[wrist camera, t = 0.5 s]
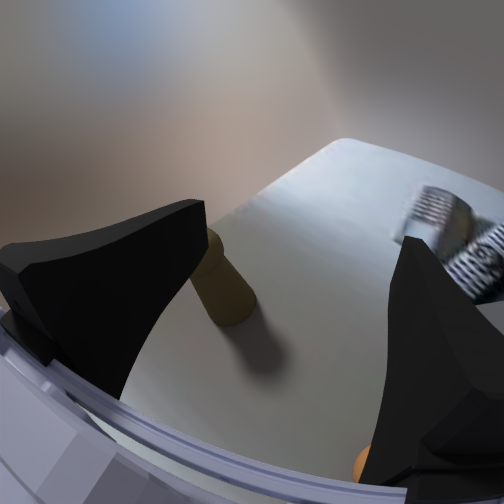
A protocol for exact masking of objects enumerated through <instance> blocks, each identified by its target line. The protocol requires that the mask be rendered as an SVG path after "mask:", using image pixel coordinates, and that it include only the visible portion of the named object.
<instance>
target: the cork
mask: <svg viewBox="0 0 504 504" xmlns="http://www.w3.org/2000/svg"><path fill="white" fill-rule="evenodd" d="M207 234H208V243H209V248H208V249H207V251H206V253H205V255H204V257H203V259H202V260H201V262H200V264H199V265H198V267H197V268H196V269H195V271H194V272H193V273H192V275H191V276H190V277H189V278H190V280H191V282H192V284H193V286H194V288H195V290H196V292H197V294H198V295H199V297H200V299H201V301H202V303H203V305H204V307H205V309H206V311H207V313H208V315H209V316H210V318H211V319H212V320H213V322H215V323H217V324H218V325H222V326H231V325H236V324H238V323H240V322H242V321H243V320H245V319H246V318H247V317H248V316H249V315H250V314H251V312H252V311H253V309H254V306H255V303H256V296H255V293H254V291H253V290H252V288H251V287H250V286H249V285H248V284H247V282H246V281H245V280H244V279H243V278H242V276H241V275H240V274H239V273H238V272H237V270H236V269H235V268H234V267H233V265H232V264H231V263H230V262H229V261H228V259H227V258H226V257H225V256H224V247H223V243H222V241H221V239H220V237H219V235H218V234H216V233H215V232H214V231H213V230H212V229H209V228H207Z"/></svg>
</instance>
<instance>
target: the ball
mask: <svg viewBox="0 0 504 504" xmlns="http://www.w3.org/2000/svg"><path fill="white" fill-rule="evenodd" d="M370 446H371V445H369V446H368V447H366V448H365V449H364V450H363V451H362V452H361V453H360V455H359V456H358V457H357V459H356V461H355V464H354V467H353V479H354V482H355V483H358V481H359V478H360V476H361V473H362V470H363V467H364V465H365V462H366V459H367V456H368V453H369V449H370Z"/></svg>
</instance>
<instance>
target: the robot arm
mask: <svg viewBox="0 0 504 504" xmlns="http://www.w3.org/2000/svg"><path fill="white" fill-rule="evenodd" d="M204 205H205V204H204V201H203V200H195V199H187V200H183V201H179V202H176V203H173V204H169V205H167V206H164V207H161V208H158V209H156V210H153V211H150V212H148V213H145V214H142V215H139V216H137V217H134V218H131V219H128V220H126V221H123V222H120V223H117V224H114V225H111V226H108V227H105V228H101V229H97V230H94V231H90V232H86V233H82V234H77V235H73V236H68V237H64V238H58V239H52V240H45V241H36V242H23V243H11V244H8V245H5V246H4V247H2V248H1V249H0V291H1V293H2V294H3V296H4V298H5V300H6V301H7V303H8V305H9V307H10V308H11V309H10V310H9V311H8V312H7V313H6V312H5V311H4V310H3V308H2V307H1V306H0V504H238V503H236V502H233V501H230V500H228V499H225V498H223V497H220V496H218V495H215V494H213V493H211V492H208V491H206V490H204V489H202V488H199V487H197V486H195V485H193V484H191V483H189V482H186V481H184V480H182V479H180V478H178V477H176V476H174V475H172V474H170V473H168V472H166V471H165V470H163V469H161V468H159V467H157V466H155V465H153V464H152V463H150V462H148V461H146V460H144V459H143V458H141V457H139V456H137V455H136V454H134V453H132V452H131V451H129V450H127V449H126V448H124V447H123V446H121V445H119V444H118V443H117V442H116V441H115V440H114V439H113V438H112V437H111V436H109V435H108V434H107V433H106V432H105V431H103V430H102V429H101V428H100V427H99V426H98V425H97V424H96V423H95V422H94V421H93V420H92V419H91V417H90V416H89V415H88V414H87V413H86V412H85V411H84V410H83V409H81V408H80V407H79V406H78V405H77V404H76V403H78V404H79V405H80V406H82V407H83V408H85V409H86V410H88V411H89V412H90V413H92V414H93V415H95V416H96V417H98V418H99V419H101V420H102V421H104V422H105V423H107V424H109V425H110V426H112V427H113V428H115V429H117V430H118V431H120V432H122V433H123V434H125V435H127V436H128V437H130V438H132V439H134V440H135V441H137V442H139V443H141V444H143V445H144V446H146V447H148V448H150V449H152V450H154V451H156V452H158V453H160V454H162V455H164V456H166V457H168V458H170V459H172V460H174V461H176V462H178V463H180V464H183V465H185V466H187V467H189V468H192V469H194V470H196V471H199V472H201V473H203V474H206V475H208V476H211V477H213V478H216V479H219V480H221V481H224V482H227V483H229V484H232V485H235V486H238V487H241V488H244V489H247V490H250V491H253V492H257V493H260V494H263V495H267V496H270V497H274V498H278V499H282V500H285V501H290V502H294V503H298V504H504V335H503V334H502V333H501V332H500V331H499V330H498V329H497V328H496V327H495V326H494V325H493V324H492V323H491V322H490V321H489V320H488V319H487V318H486V317H485V316H484V315H483V314H482V313H481V312H480V311H479V310H478V309H477V307H476V306H475V305H474V304H473V303H472V302H471V301H470V300H469V298H468V297H467V296H466V295H465V294H464V292H463V291H462V290H461V289H460V287H459V286H458V285H457V284H456V283H455V281H454V280H453V279H452V277H451V276H450V275H449V274H448V272H447V271H446V270H445V268H444V267H443V266H442V264H441V263H440V262H439V260H438V259H437V258H436V256H435V255H434V254H433V252H432V251H431V250H430V248H429V247H428V246H427V245H426V243H425V242H424V241H423V240H422V239H419V238H414V237H410V236H405V237H404V240H403V244H402V247H401V251H400V254H399V258H398V261H397V264H396V268H395V271H394V274H393V277H392V280H391V283H390V292H389V302H388V360H387V374H386V381H385V386H384V392H383V397H382V403H381V407H380V412H379V416H378V420H377V425H376V428H375V432H374V436H373V439H372V443H371V446H370V449H369V453H368V456H367V459H366V462H365V465H364V467H363V470H362V473H361V476H360V478H359V481H358V483H352V482H345V481H339V480H333V479H328V478H323V477H318V476H313V475H308V474H304V473H300V472H295V471H291V470H287V469H284V468H280V467H276V466H273V465H269V464H266V463H262V462H259V461H256V460H253V459H249V458H246V457H243V456H240V455H237V454H235V453H232V452H229V451H226V450H223V449H221V448H218V447H215V446H213V445H210V444H208V443H205V442H203V441H200V440H198V439H195V438H193V437H191V436H188V435H186V434H184V433H182V432H179V431H177V430H175V429H173V428H171V427H168V426H166V425H164V424H162V423H160V422H158V421H156V420H154V419H152V418H150V417H148V416H146V415H144V414H142V413H140V412H139V411H137V410H135V409H133V408H131V407H129V406H127V405H126V404H124V403H122V402H120V401H119V399H120V396H121V394H122V391H123V388H124V386H125V383H126V381H127V378H128V376H129V373H130V371H131V369H132V367H133V365H134V363H135V360H136V358H137V356H138V354H139V352H140V350H141V348H142V346H143V344H144V343H145V341H146V339H147V337H148V335H149V333H150V332H151V330H152V328H153V326H154V325H155V323H156V321H157V320H158V318H159V316H160V315H161V313H162V312H163V311H164V309H165V308H166V306H167V305H168V304H169V303H170V301H171V300H172V299H173V297H174V296H175V295H176V294H177V292H178V291H179V290H180V289H181V287H182V286H183V285H184V284H185V282H186V281H187V280H188V279H189V277H190V276H191V275H192V273H193V272H194V271H195V269H196V268H197V267H198V265H199V264H200V262H201V260H202V259H203V257H204V255H205V253H206V251H207V249H208V248H209V243H208V234H207V224H206V214H205V206H204ZM75 402H76V403H75ZM287 504H291V503H287Z"/></svg>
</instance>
